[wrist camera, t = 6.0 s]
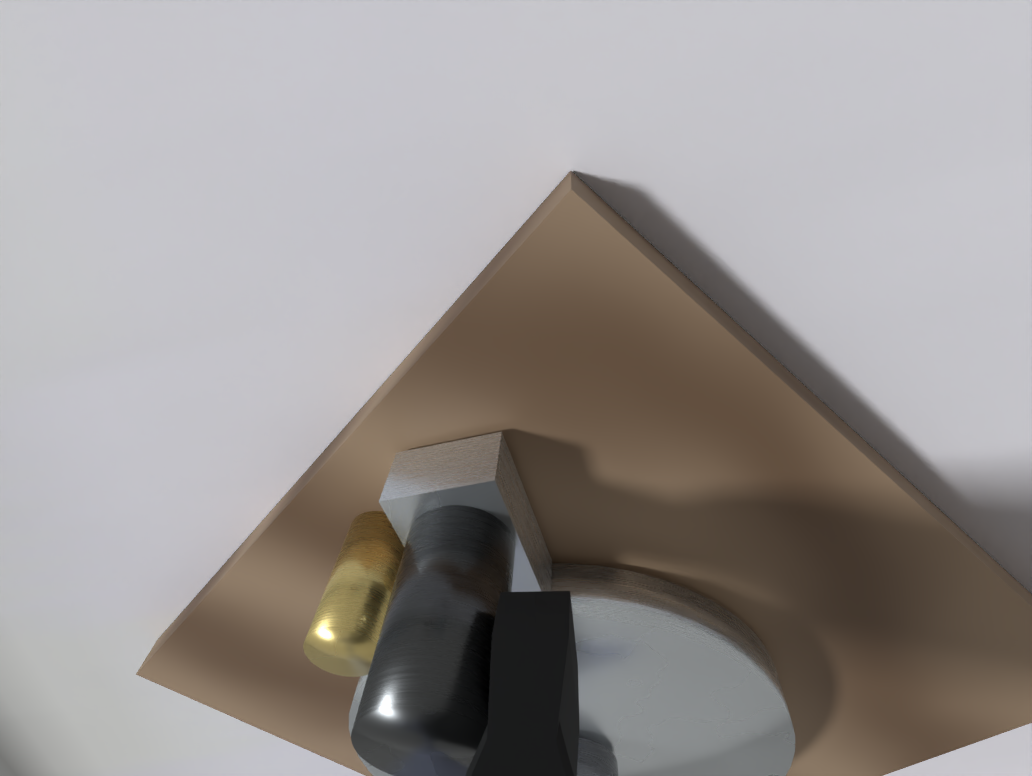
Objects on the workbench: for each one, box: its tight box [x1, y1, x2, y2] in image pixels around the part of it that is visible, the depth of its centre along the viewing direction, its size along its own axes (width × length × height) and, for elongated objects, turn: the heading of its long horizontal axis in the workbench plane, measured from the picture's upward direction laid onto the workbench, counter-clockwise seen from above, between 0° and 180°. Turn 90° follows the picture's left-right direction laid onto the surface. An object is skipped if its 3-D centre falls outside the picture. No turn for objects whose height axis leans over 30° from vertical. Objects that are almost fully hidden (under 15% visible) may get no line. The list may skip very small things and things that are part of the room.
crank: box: [349, 432, 795, 776], centre depth 15 cm, size 16×12×6 cm
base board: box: [136, 171, 1032, 776], centre depth 18 cm, size 20×20×1 cm
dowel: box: [303, 511, 405, 677], centre depth 14 cm, size 2×2×3 cm
